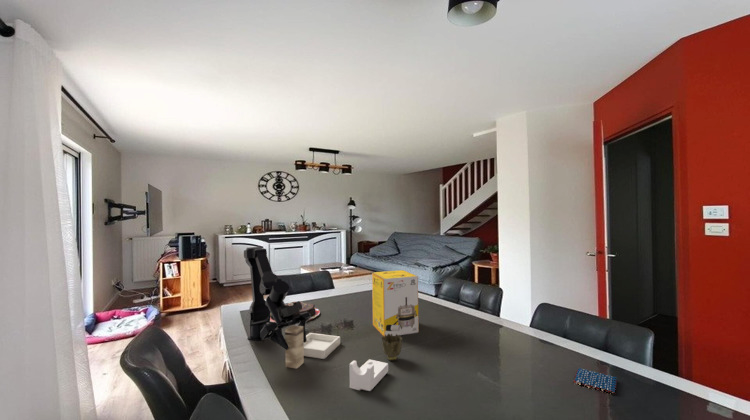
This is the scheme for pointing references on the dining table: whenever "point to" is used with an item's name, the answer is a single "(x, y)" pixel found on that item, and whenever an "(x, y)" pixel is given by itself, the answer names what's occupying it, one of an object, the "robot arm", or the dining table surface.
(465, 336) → the dining table surface
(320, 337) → the tray
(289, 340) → the birch block
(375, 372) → the bracket
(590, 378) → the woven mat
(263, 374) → the dining table surface
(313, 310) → the chocolate cake
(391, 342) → the cup
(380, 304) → the packaging box
